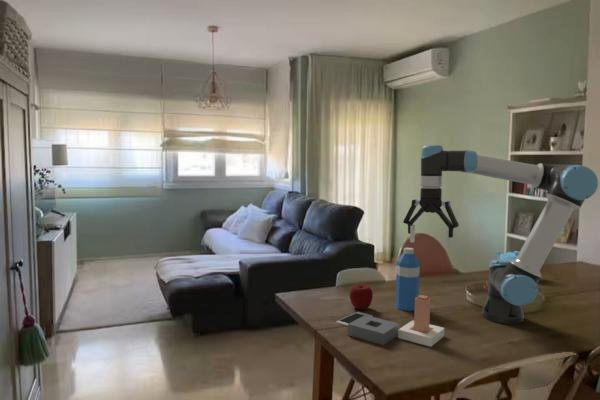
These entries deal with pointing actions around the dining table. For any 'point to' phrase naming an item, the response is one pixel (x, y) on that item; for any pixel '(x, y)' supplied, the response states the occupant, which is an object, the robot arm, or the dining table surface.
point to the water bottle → (407, 280)
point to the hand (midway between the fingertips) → (429, 244)
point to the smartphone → (351, 318)
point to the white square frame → (421, 334)
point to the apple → (361, 296)
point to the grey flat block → (373, 329)
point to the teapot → (507, 255)
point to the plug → (422, 314)
